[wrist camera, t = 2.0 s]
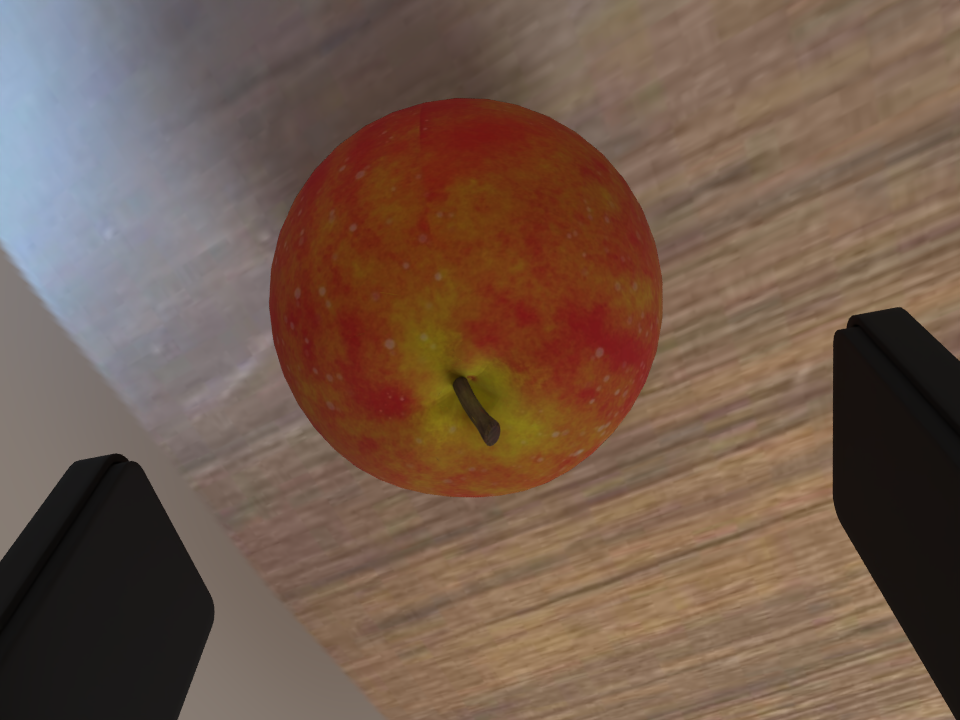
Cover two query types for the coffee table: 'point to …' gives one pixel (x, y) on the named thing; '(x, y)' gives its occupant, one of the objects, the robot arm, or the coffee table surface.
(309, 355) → the fruit
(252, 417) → the coffee table surface
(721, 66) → the coffee table surface
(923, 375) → the robot arm
